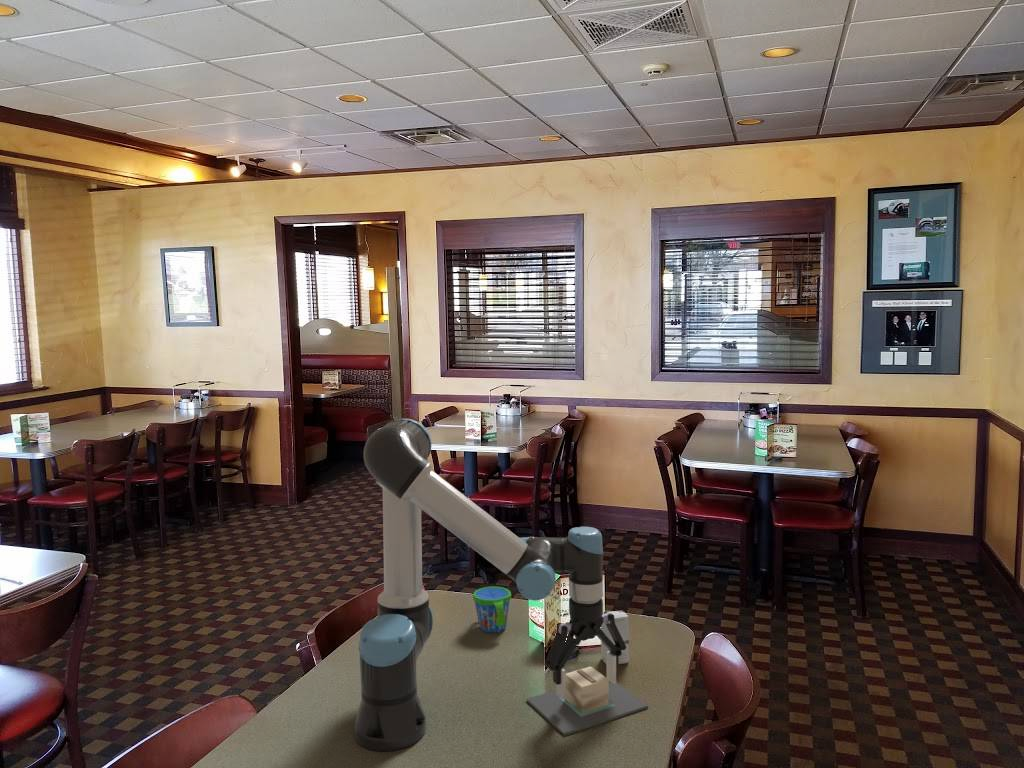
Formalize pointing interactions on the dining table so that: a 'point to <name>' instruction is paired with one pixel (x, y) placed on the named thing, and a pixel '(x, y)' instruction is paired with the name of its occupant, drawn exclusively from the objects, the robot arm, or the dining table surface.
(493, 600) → the snack cup
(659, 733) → the dining table surface
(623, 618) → the skincare box
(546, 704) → the rubber mat
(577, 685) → the birch block
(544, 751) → the dining table surface
